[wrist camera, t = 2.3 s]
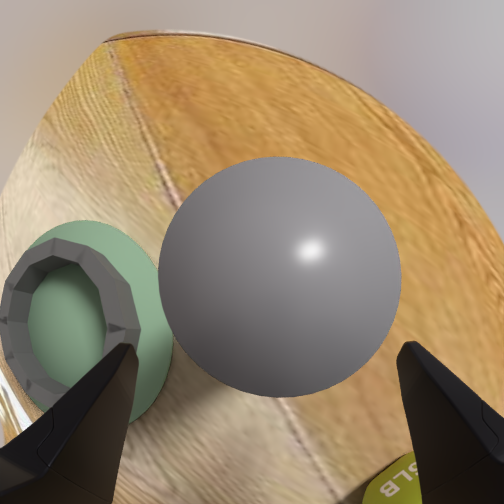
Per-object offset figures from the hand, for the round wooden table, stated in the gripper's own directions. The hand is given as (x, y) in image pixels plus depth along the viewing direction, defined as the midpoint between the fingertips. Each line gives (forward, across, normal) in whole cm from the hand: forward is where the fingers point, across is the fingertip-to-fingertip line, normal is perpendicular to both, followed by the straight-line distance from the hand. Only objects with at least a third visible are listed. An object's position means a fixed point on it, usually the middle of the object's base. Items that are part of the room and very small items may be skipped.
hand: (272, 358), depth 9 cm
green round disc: (+7, +14, +7) cm, 17 cm away
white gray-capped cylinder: (+8, 0, +5) cm, 10 cm away
